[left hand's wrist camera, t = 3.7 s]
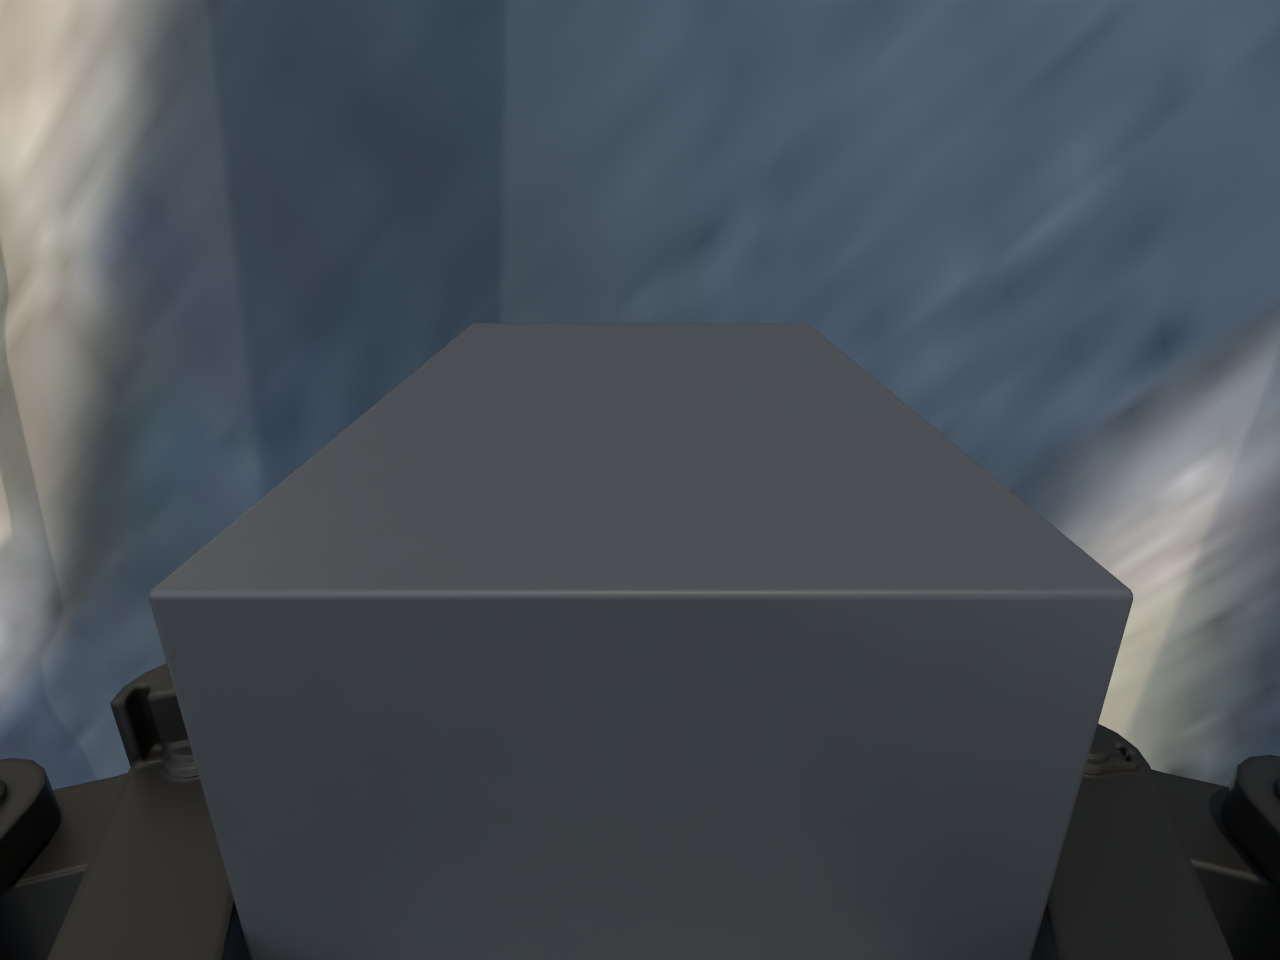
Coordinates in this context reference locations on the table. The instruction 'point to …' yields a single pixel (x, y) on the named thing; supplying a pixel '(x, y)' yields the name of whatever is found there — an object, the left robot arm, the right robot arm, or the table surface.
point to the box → (640, 666)
